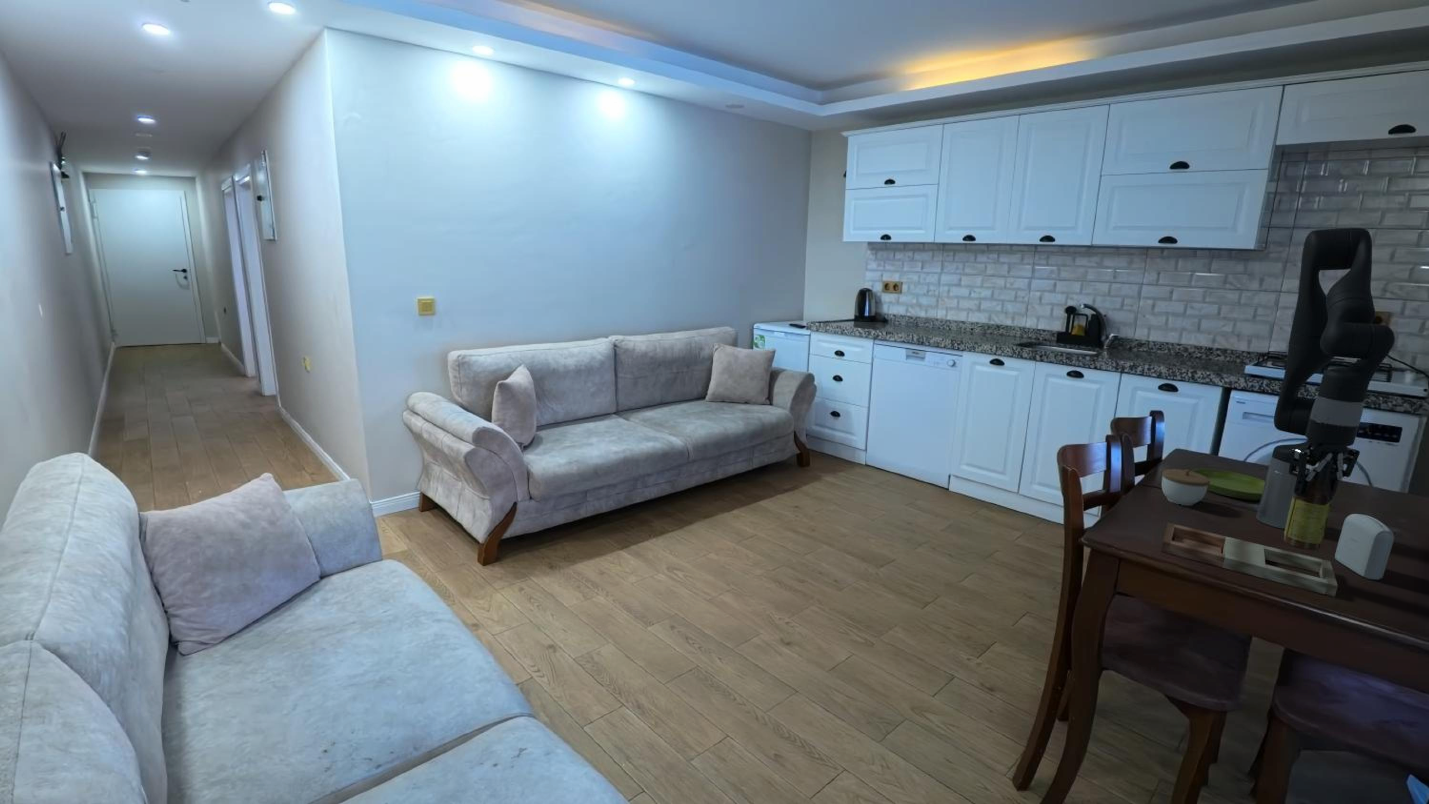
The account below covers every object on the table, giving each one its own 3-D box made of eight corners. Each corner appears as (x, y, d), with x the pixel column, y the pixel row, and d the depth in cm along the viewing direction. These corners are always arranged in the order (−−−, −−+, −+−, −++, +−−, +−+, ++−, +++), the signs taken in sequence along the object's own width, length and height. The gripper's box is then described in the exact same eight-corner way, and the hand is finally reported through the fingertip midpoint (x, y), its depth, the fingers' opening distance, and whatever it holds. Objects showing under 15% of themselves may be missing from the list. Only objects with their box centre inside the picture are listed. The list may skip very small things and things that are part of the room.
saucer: (1295, 505, 184) (1298, 494, 183) (1221, 502, 184) (1224, 491, 183) (1239, 479, 204) (1241, 469, 203) (1172, 476, 204) (1175, 466, 203)
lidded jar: (1188, 511, 176) (1195, 478, 174) (1148, 496, 186) (1155, 465, 183) (1212, 506, 180) (1220, 474, 178) (1173, 492, 190) (1179, 461, 188)
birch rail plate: (1327, 571, 145) (1330, 561, 144) (1334, 596, 134) (1337, 586, 134) (1165, 531, 163) (1167, 522, 162) (1160, 551, 152) (1163, 541, 151)
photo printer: (1329, 557, 152) (1344, 508, 149) (1351, 559, 151) (1366, 510, 148) (1362, 579, 142) (1378, 526, 139) (1385, 581, 141) (1402, 529, 138)
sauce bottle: (1327, 553, 138) (1352, 465, 133) (1293, 550, 139) (1317, 462, 134) (1306, 539, 144) (1330, 454, 139) (1274, 536, 146) (1296, 452, 141)
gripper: (1345, 414, 139) (1324, 487, 143) (1286, 415, 137) (1267, 489, 142) (1384, 424, 132) (1361, 501, 136) (1322, 425, 130) (1301, 503, 134)
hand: (1313, 495), depth 139 cm, fingers closed on sauce bottle, 6 cm apart
